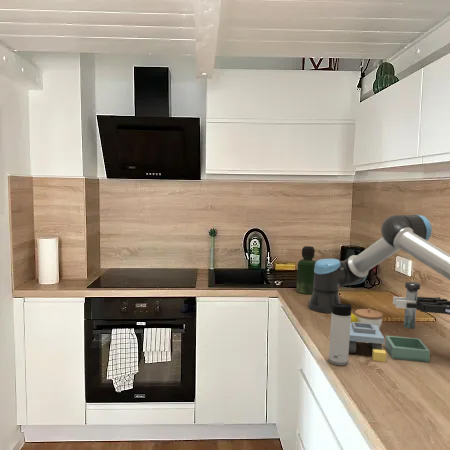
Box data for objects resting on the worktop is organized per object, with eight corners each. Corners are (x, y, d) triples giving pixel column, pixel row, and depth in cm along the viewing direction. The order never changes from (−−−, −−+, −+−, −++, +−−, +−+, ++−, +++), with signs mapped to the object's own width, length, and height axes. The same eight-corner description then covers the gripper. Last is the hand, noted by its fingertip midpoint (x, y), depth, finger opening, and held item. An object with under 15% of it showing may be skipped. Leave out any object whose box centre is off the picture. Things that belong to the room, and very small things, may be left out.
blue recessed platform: (342, 340, 162) (344, 318, 162) (375, 343, 161) (377, 321, 160) (346, 354, 149) (348, 330, 148) (382, 358, 147) (384, 334, 146)
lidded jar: (386, 335, 169) (388, 312, 168) (361, 336, 167) (363, 313, 166) (373, 326, 180) (374, 304, 179) (349, 327, 178) (350, 305, 177)
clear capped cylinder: (400, 324, 153) (403, 281, 151) (414, 325, 152) (418, 282, 150) (403, 328, 148) (407, 284, 146) (418, 329, 147) (422, 285, 146)
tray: (384, 345, 158) (385, 335, 158) (419, 349, 156) (419, 338, 156) (392, 358, 146) (392, 347, 146) (429, 362, 144) (430, 351, 144)
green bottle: (303, 295, 226) (306, 248, 224) (292, 290, 236) (295, 245, 233) (319, 293, 230) (322, 248, 228) (308, 289, 240) (310, 245, 237)
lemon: (346, 328, 175) (347, 309, 175) (359, 332, 172) (360, 312, 171) (340, 332, 171) (341, 312, 170) (353, 335, 168) (354, 315, 167)
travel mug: (337, 367, 138) (341, 307, 136) (324, 359, 144) (328, 301, 142) (352, 364, 140) (356, 305, 138) (339, 357, 146) (343, 300, 144)
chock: (371, 357, 147) (372, 348, 147) (384, 358, 146) (384, 350, 146) (373, 360, 144) (374, 352, 144) (385, 362, 143) (386, 353, 143)
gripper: (475, 325, 138) (399, 319, 142) (456, 311, 155) (388, 306, 158) (477, 303, 138) (401, 297, 141) (458, 290, 154) (390, 286, 158)
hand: (394, 302), depth 150 cm, fingers closed on clear capped cylinder, 3 cm apart
